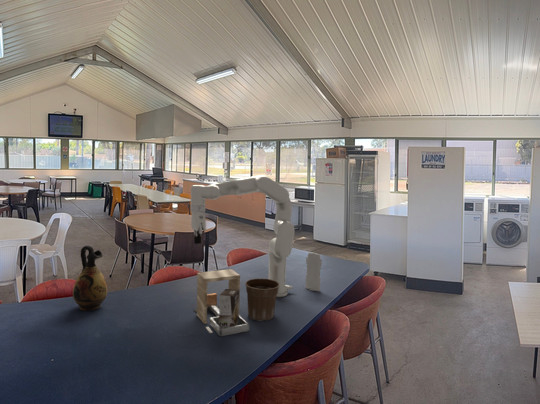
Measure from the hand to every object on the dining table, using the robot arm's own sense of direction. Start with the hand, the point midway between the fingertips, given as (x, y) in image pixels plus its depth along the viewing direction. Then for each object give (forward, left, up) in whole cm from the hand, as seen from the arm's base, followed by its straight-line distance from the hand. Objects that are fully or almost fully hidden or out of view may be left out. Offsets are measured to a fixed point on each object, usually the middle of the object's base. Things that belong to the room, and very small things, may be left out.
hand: (197, 243), depth 200 cm
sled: (-2, +32, -29) cm, 44 cm away
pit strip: (-2, +18, -30) cm, 35 cm away
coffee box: (-2, +42, -30) cm, 51 cm away
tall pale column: (-66, +13, -30) cm, 73 cm away
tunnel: (-2, +28, -30) cm, 41 cm away
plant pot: (-21, +36, -30) cm, 51 cm away
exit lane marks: (-2, +41, -30) cm, 50 cm away
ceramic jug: (+51, -8, -30) cm, 60 cm away
